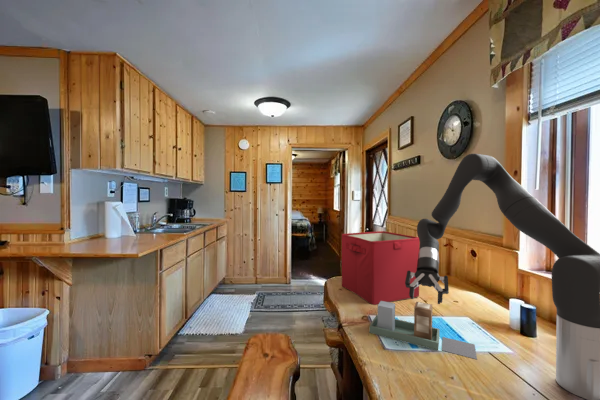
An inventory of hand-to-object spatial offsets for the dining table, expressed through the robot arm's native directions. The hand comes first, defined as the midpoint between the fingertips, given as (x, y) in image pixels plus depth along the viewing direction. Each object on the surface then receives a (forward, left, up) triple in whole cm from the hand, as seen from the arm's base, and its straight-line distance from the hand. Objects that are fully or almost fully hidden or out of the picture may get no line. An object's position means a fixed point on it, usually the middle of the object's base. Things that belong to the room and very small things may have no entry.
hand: (425, 300), depth 93 cm
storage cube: (+40, 0, -12) cm, 42 cm away
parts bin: (-2, +8, -11) cm, 14 cm away
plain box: (+2, +13, -11) cm, 17 cm away
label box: (-5, +4, -11) cm, 12 cm away
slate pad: (-11, -5, -11) cm, 16 cm away
